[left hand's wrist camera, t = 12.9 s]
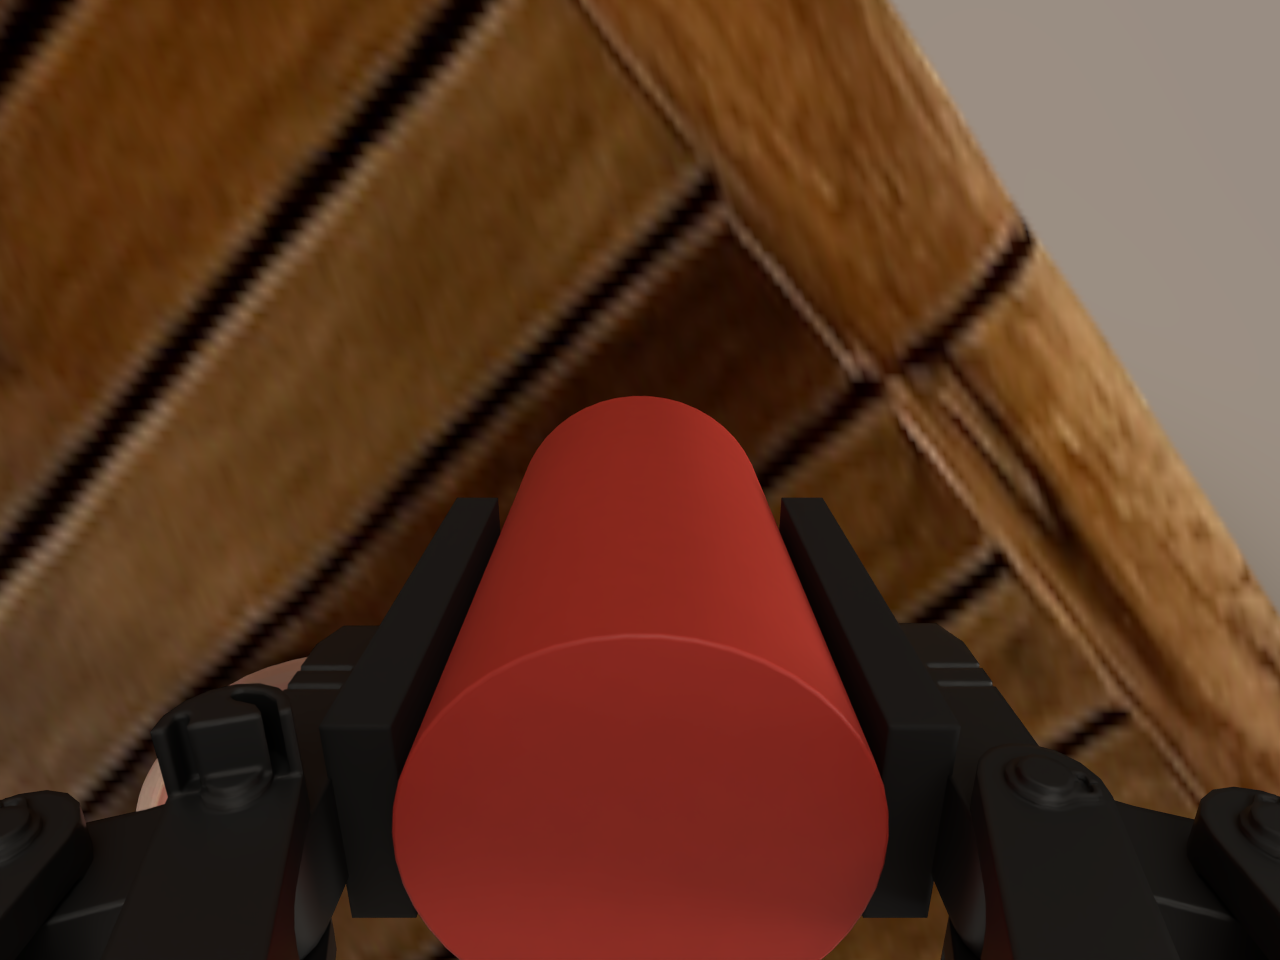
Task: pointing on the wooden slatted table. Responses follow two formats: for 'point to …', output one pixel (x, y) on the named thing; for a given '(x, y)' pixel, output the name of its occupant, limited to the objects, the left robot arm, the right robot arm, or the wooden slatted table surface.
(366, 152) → the wooden slatted table surface
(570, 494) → the cylinder
